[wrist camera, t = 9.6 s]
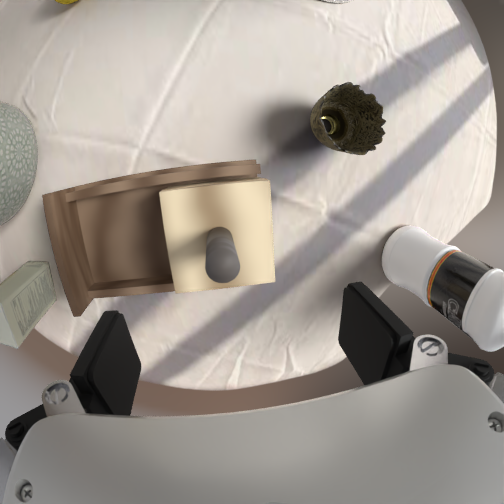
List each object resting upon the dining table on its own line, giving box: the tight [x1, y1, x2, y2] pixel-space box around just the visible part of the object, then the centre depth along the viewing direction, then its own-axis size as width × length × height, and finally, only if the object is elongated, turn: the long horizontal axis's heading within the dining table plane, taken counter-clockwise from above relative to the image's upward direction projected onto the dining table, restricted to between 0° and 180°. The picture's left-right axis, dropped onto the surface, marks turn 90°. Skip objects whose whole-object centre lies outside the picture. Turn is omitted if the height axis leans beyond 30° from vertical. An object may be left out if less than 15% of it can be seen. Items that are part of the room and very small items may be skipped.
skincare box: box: [0, 261, 56, 349], centre depth 25 cm, size 6×4×12 cm
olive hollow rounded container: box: [310, 82, 386, 155], centre depth 26 cm, size 8×7×8 cm
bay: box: [42, 160, 261, 317], centre depth 28 cm, size 23×14×7 cm, turn 94°
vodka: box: [382, 225, 504, 352], centre depth 23 cm, size 9×9×30 cm
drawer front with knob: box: [159, 177, 275, 293], centre depth 25 cm, size 10×10×13 cm
